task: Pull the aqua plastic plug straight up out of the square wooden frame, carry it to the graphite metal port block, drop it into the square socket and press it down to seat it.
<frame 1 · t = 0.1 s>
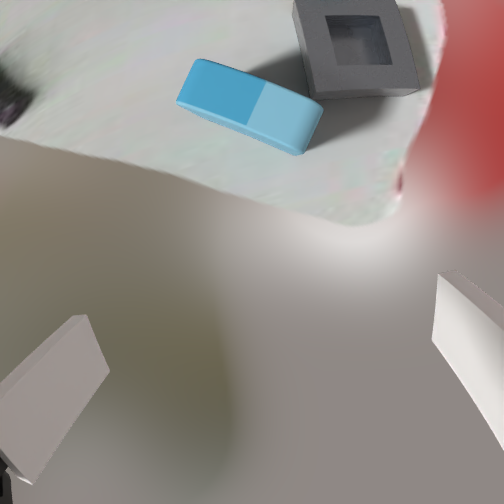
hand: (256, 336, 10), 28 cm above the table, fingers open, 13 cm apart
port block: (349, 52, 31), on the table
data package: (256, 119, 34), on the table
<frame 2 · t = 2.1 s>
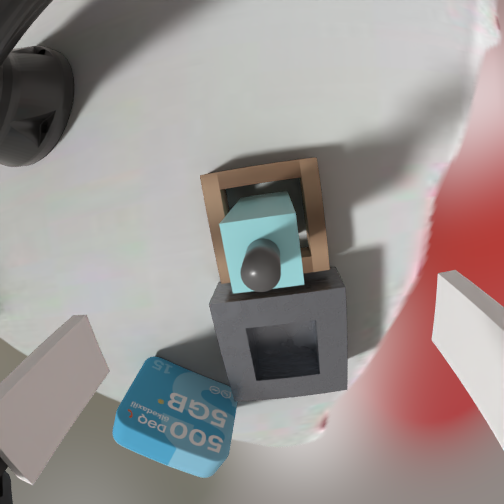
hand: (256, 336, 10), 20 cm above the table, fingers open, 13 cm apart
port block: (283, 326, 33), on the table
plug: (265, 236, 23), in the square wooden frame
square wooden frame: (267, 216, 30), on the table
data package: (190, 382, 37), on the table
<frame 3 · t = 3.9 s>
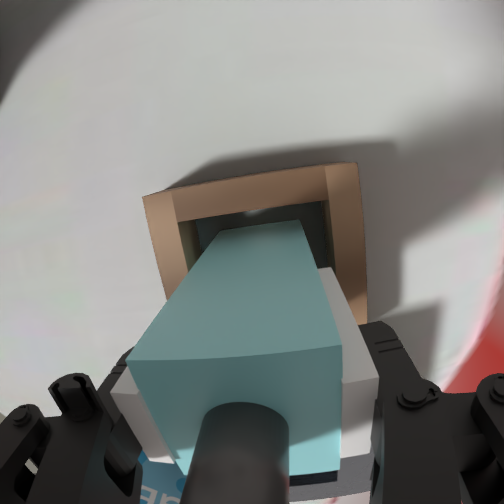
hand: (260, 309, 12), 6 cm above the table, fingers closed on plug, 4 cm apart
port block: (287, 412, 21), on the table
plug: (257, 332, 11), in the square wooden frame, touching gripper
square wooden frame: (265, 262, 18), on the table
data package: (164, 460, 25), on the table
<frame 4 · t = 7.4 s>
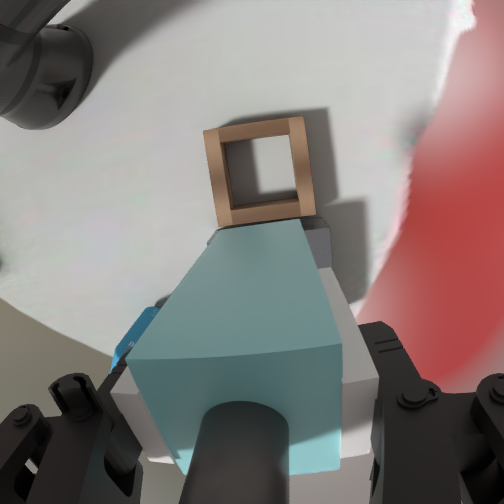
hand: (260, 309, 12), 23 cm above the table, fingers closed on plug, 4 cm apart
port block: (275, 273, 36), on the table
plug: (257, 331, 11), point 25 cm above the table, touching gripper
square wooden frame: (261, 170, 33), on the table
data package: (186, 333, 40), on the table
when the fingers open (9 cm above the table, at t = 10.8 s): plug drops 2 cm, resting on port block.
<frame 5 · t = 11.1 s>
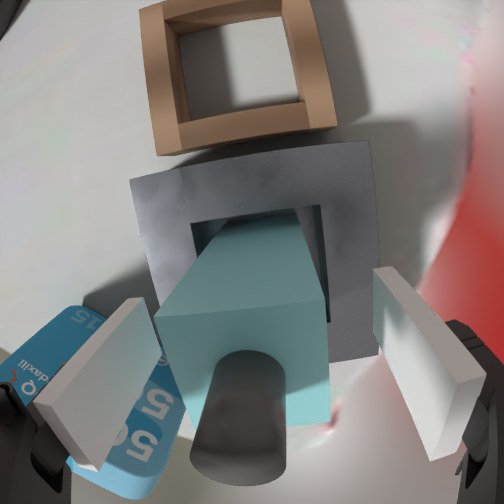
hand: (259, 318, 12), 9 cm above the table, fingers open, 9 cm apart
port block: (266, 248, 21), on the table
plug: (258, 307, 12), in the port block, point 8 cm above the table
square wooden frame: (236, 68, 17), on the table
data package: (130, 349, 24), on the table
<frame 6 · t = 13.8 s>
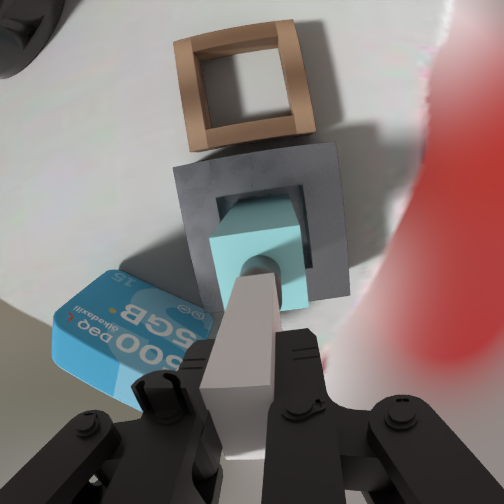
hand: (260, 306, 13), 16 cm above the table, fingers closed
port block: (267, 219, 28), on the table
plug: (263, 247, 20), in the port block, point 8 cm above the table, touching gripper
square wooden frame: (245, 88, 25), on the table
data package: (157, 305, 32), on the table
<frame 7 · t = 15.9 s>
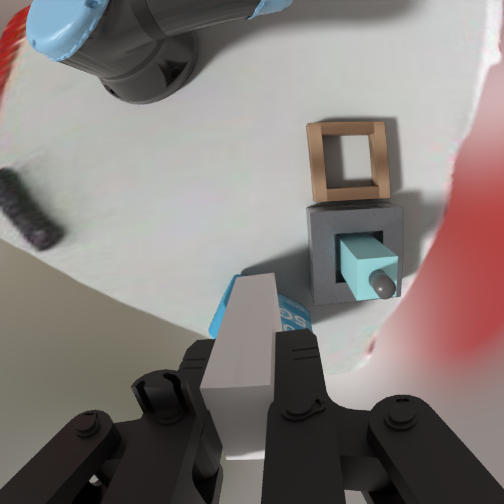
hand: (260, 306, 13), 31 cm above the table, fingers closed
port block: (351, 247, 42), on the table
plug: (366, 265, 34), in the port block, point 8 cm above the table
square wooden frame: (346, 161, 39), on the table
data package: (265, 301, 46), on the table
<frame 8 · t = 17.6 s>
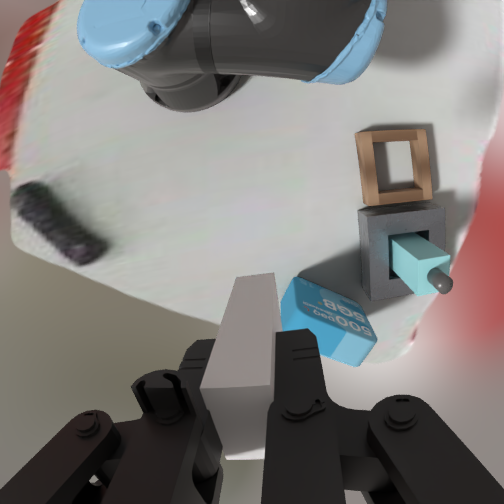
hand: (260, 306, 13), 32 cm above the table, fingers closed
port block: (397, 245, 44), on the table
plug: (419, 263, 36), in the port block, point 8 cm above the table
square wooden frame: (391, 165, 41), on the table
data package: (320, 300, 48), on the table
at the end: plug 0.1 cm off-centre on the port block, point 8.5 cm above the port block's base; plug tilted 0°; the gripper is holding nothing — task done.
